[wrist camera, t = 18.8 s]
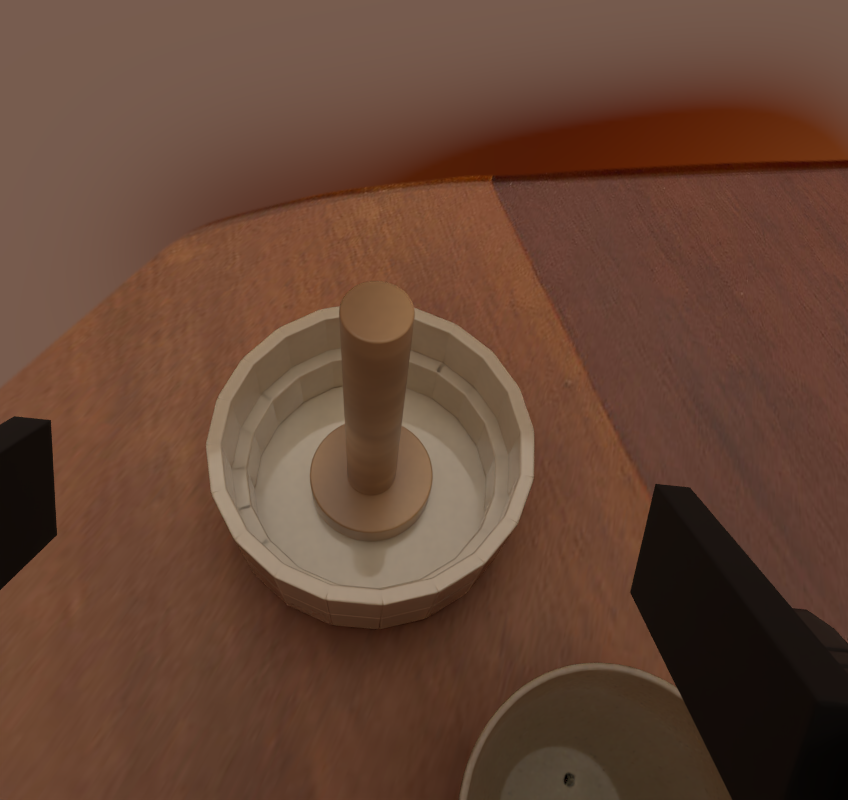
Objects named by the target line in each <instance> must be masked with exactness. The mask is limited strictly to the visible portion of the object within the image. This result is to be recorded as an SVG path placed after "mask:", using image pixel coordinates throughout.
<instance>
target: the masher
mask: <svg viewBox="0 0 848 800" xmlns="http://www.w3.org/2000/svg"><path fill="white" fill-rule="evenodd" d="M414 318H415V310H414V306H413V303H412V301H411V299H410V298H409V296H408V295H407V294H406V293H405V292H404V291H403V290H402V289H401V288H399V287H397V286H396V285H393V284H391V283H388V282H383V281H370V282H365V283H362V284H359V285H357V286H355V287H354V288H352V289H351V290H350V291H349V292H348V293H347V294H346V295H345V296H344V298H343V299H342V301H341V304H340V308H339V320H340V339H341V358H342V378H343V397H344V417H345V424H344V425H341V426H340V427H338V428H336V429H335V430H333V431H332V432H331V433H330V434H328V435H327V437H326V438H325V439H324V440H323V441H322V442H321V444H320V445H319V446H318V448H317V450H316V452H315V454H314V456H313V459H312V463H311V467H310V485H311V490H312V495H313V500H314V503H315V506H316V508H317V510H318V512H319V514H320V515H321V517H322V518H323V519H324V521H325V522H326V523H327V524H328V525H329V526H330V527H332V528H333V529H334V530H335V531H337V532H339V533H340V534H342V535H344V536H346V537H349V538H352V539H355V540H360V541H372V542H373V541H382V540H386V539H390V538H392V537H395V536H397V535H399V534H401V533H403V532H404V531H406V530H407V529H409V528H410V527H411V526H412V525H413V524H414V523H415V522H416V521H417V520H418V519H419V517H420V516H421V514H422V513H423V511H424V509H425V507H426V505H427V502H428V498H429V495H430V491H431V487H432V480H433V472H432V464H431V461H430V457H429V455H428V453H427V450H426V449H425V447H424V445H423V444H422V443H421V441H420V440H419V439H418V438H417V437H416V436H415V435H414V434H413V433H412V432H411V431H409V430H408V429H407V428H405V427H403V426H402V418H403V410H404V401H405V393H406V385H407V376H408V368H409V360H410V351H411V343H412V335H413V326H414Z"/></svg>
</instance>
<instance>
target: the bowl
mask: <svg viewBox="0 0 848 800" xmlns="http://www.w3.org/2000/svg"><path fill="white" fill-rule="evenodd" d="M339 308H340V306H339V307H333V308H326V309H322V310H318V311H316V312H314V313H311V314H309V315H307V316H305V317H302V318H300V319H298V320H296V321H293V322H291V323H289V324H287V325H284V326H282V327H280V328H279V329H277V330H276V331H274V332H273V333H272V334H271V335H270V336H268V337H267V338H266V339H265V340H264V341H263V342H261V343H260V344H259V345H258V346H257V347H255V348H254V349H253V350H252V351H251V352H249V353H248V354H247V355H246V356H245V357H244V358H243V359H242V360H241V361H240V363H239V365H238V366H237V368H236V369H235V371H234V372H233V374H232V376H231V377H230V379H229V380H228V382H227V383H226V385H225V387H224V388H223V390H222V391H221V393H220V394H219V396H218V399H217V400H216V404H215V408H214V412H213V417H212V421H211V425H210V429H209V433H208V437H207V442H206V454H207V463H208V472H209V481H210V489H211V494H212V497H213V499H214V501H215V503H216V505H217V507H218V509H219V511H220V513H221V515H222V517H223V519H224V521H225V523H226V525H227V527H228V529H229V531H230V533H231V535H232V537H233V539H234V541H235V542H236V544H237V546H238V547H239V549H240V551H241V552H242V554H243V556H244V558H245V559H246V561H247V563H248V564H249V566H250V568H251V569H252V571H253V572H254V574H255V575H256V576H257V577H258V578H259V579H260V580H261V581H262V582H263V583H264V584H265V585H266V586H268V587H269V588H270V589H271V590H272V591H273V592H274V593H275V594H276V595H277V596H278V597H279V598H280V599H281V600H282V601H283V602H284V603H285V604H286V605H288V606H290V607H292V608H294V609H297V610H299V611H301V612H303V613H305V614H308V615H310V616H312V617H314V618H317V619H319V620H321V621H323V622H326V623H328V624H330V625H331V624H332V625H337V626H348V627H359V628H369V629H379V628H380V629H384V628H388V627H392V626H396V625H401V624H405V623H409V622H413V621H417V620H422V619H425V618H426V617H427V618H428V617H430V616H431V615H433V614H434V613H436V612H438V611H439V610H441V609H442V608H444V607H446V606H447V605H449V604H450V603H452V602H454V601H455V600H457V599H458V598H460V597H462V596H463V595H465V594H466V593H467V592H468V591H469V590H470V589H471V587H472V586H473V585H474V584H475V582H476V581H477V580H478V579H479V577H480V576H481V575H482V574H483V573H484V571H485V570H486V569H487V568H488V566H489V565H490V564H491V563H492V562H493V560H494V559H495V557H496V556H497V554H498V553H499V551H500V550H501V548H502V547H503V545H504V544H505V542H506V541H507V539H508V538H509V536H510V535H511V533H512V532H513V530H514V529H515V528H516V526H517V524H518V522H519V519H520V517H521V514H522V511H523V508H524V506H525V503H526V500H527V497H528V494H529V492H530V489H531V486H532V483H533V480H534V479H533V478H534V429H533V426H532V423H531V420H530V417H529V414H528V411H527V408H526V405H525V402H524V399H523V396H522V393H521V390H520V388H519V387H518V385H517V384H516V382H515V381H514V380H513V378H512V377H511V376H510V374H509V373H508V372H507V370H506V369H505V368H504V366H503V365H502V364H501V362H500V361H499V360H498V358H497V357H496V355H495V354H494V353H493V352H492V351H491V350H490V349H489V348H487V347H486V346H485V345H483V344H482V343H481V342H479V341H478V340H477V339H475V338H474V337H473V336H471V335H470V334H469V333H467V332H466V331H465V330H463V329H462V328H461V327H459V326H458V325H455V323H452V322H450V321H447V320H444V319H442V318H439V317H437V316H434V315H432V314H429V313H426V312H424V311H421V310H419V309H416V308H414V310H415V318H414V326H413V335H412V343H411V351H410V360H409V368H408V376H407V385H406V393H405V401H404V410H403V418H402V426H403V427H405V428H407V429H408V430H409V431H411V432H412V433H413V434H414V435H415V436H416V437H417V438H418V439H419V440H420V441H421V443H422V444H423V445H424V447H425V449H426V450H427V453H428V455H429V457H430V461H431V464H432V472H433V480H432V487H431V491H430V495H429V498H428V502H427V505H426V507H425V509H424V511H423V513H422V514H421V516H420V517H419V519H418V520H417V521H416V522H415V523H414V524H413V525H412V526H411V527H410V528H409V529H407V530H406V531H404V532H403V533H401V534H399V535H397V536H395V537H392V538H390V539H386V540H382V541H373V542H372V541H360V540H355V539H352V538H349V537H346V536H344V535H342V534H340V533H339V532H337V531H335V530H334V529H333V528H332V527H330V526H329V525H328V524H327V523H326V522H325V521H324V519H323V518H322V517H321V515H320V514H319V512H318V510H317V508H316V506H315V503H314V500H313V495H312V490H311V485H310V467H311V463H312V459H313V456H314V454H315V452H316V450H317V448H318V446H319V445H320V444H321V442H322V441H323V440H324V439H325V438H326V437H327V435H328V434H330V433H331V432H332V431H333V430H335V429H336V428H338V427H340V426H341V425H344V424H345V417H344V397H343V378H342V358H341V339H340V320H339Z"/></svg>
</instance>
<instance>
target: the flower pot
mask: <svg viewBox="0 0 848 800" xmlns="http://www.w3.org/2000/svg"><path fill="white" fill-rule="evenodd" d="M565 775H567V777H568V780H567V782H566V783H564V778H565ZM459 800H732V798H731V796H730V794H729V792H728V790H727V788H726V786H725V784H724V782H723V780H722V778H721V776H720V774H719V772H718V770H717V768H716V766H715V764H714V762H713V760H712V758H711V756H710V754H709V752H708V750H707V748H706V746H705V744H704V741H703V739H702V737H701V735H700V733H699V731H698V729H697V727H696V725H695V723H694V721H693V719H692V717H691V715H690V713H689V711H688V709H687V707H686V705H685V703H684V701H683V699H682V697H681V695H680V693H679V691H678V689H677V687H675V686H674V685H672V684H670V683H669V682H667V681H665V680H663V679H661V678H659V677H657V676H655V675H652V674H650V673H648V672H645V671H642V670H639V669H636V668H633V667H629V666H624V665H618V664H611V663H582V664H575V665H570V666H566V667H562V668H559V669H556V670H553V671H550V672H548V673H545V674H543V675H541V676H539V677H537V678H535V679H534V680H532V681H530V682H529V683H527V684H525V685H524V686H522V687H521V688H520V689H518V690H517V691H516V692H515V693H514V694H513V695H512V696H510V697H509V698H508V699H507V700H506V701H505V702H504V703H503V704H502V705H501V707H500V708H499V709H498V710H497V711H496V712H495V714H494V715H493V716H492V717H491V719H490V720H489V722H488V723H487V724H486V726H485V727H484V729H483V731H482V732H481V734H480V736H479V738H478V739H477V741H476V743H475V746H474V748H473V750H472V752H471V754H470V757H469V760H468V762H467V765H466V768H465V772H464V775H463V779H462V783H461V788H460V794H459Z"/></svg>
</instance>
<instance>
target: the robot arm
mask: <svg viewBox="0 0 848 800" xmlns="http://www.w3.org/2000/svg"><path fill="white" fill-rule="evenodd" d="M56 535H57V528H56V509H55V491H54V472H53V453H52V435H51V420H43V419H34V418H24V417H15V416H14V417H13V418H11V419H9V420H7V421H6V422H4V423H2V424H1V425H0V590H1V589H2V588H3V587H4V586H5V585H6V584H7V583H8V582H9V581H10V580H11V579H12V578H13V577H14V576H15V575H16V574H17V573H18V572H19V571H20V570H21V569H22V568H23V567H24V566H25V565H26V564H28V563H29V562H30V561H31V560H32V559H33V558H34V557H35V556H36V555H37V554H38V553H39V552H40V551H41V550H42V549H43V548H44V547H45V546H46V545H47V544H48V543H49V542H50V541H51V540H52V539H53V538H54V537H55V536H56ZM630 593H631V595H632V597H633V599H634V601H635V603H636V605H637V607H638V609H639V611H640V613H641V615H642V617H643V619H644V621H645V623H646V625H647V628H648V630H649V632H650V634H651V636H652V638H653V640H654V642H655V644H656V646H657V648H658V650H659V652H660V654H661V656H662V658H663V660H664V662H665V664H666V666H667V668H668V670H669V672H670V674H671V676H672V678H673V680H674V682H675V685H676V687H677V689H678V691H679V693H680V695H681V697H682V699H683V701H684V703H685V705H686V707H687V709H688V711H689V713H690V715H691V717H692V719H693V721H694V723H695V725H696V727H697V729H698V731H699V733H700V735H701V737H702V739H703V741H704V744H705V746H706V748H707V750H708V752H709V754H710V756H711V758H712V760H713V762H714V764H715V766H716V768H717V770H718V772H719V774H720V776H721V778H722V780H723V782H724V784H725V786H726V788H727V790H728V792H729V794H730V796H731V798H732V800H848V643H847V642H846V641H845V640H844V639H843V638H842V637H841V636H840V635H839V633H838V632H837V631H836V630H835V629H834V628H832V627H831V626H829V625H828V624H827V623H825V622H824V621H822V620H821V619H819V618H818V617H816V616H815V615H814V614H812V613H811V612H809V611H808V610H804V609H794V608H792V607H791V606H790V605H789V604H788V603H787V601H786V600H785V599H784V598H783V597H782V595H781V594H780V593H779V592H778V591H777V590H776V588H775V587H774V586H773V585H772V584H771V583H770V581H769V580H768V579H767V578H766V577H765V575H764V574H763V573H762V572H761V571H760V570H759V568H758V567H757V566H756V565H755V564H754V563H753V561H752V560H751V559H750V558H749V557H748V555H747V554H746V553H745V552H744V551H743V550H742V548H741V547H740V546H739V545H738V544H737V542H736V541H735V540H734V539H733V538H732V537H731V535H730V534H729V533H728V532H727V531H726V530H725V528H724V527H723V526H722V525H721V524H720V522H719V521H718V520H717V519H716V518H715V517H714V515H713V514H712V513H711V512H710V511H709V510H708V508H707V507H706V506H705V505H704V504H703V502H702V501H701V500H700V499H699V498H698V497H697V495H696V494H695V493H694V492H693V491H692V489H691V488H689V487H679V486H670V485H660V484H656V485H655V489H654V493H653V497H652V502H651V506H650V510H649V514H648V519H647V523H646V527H645V532H644V536H643V540H642V544H641V549H640V553H639V557H638V562H637V566H636V570H635V574H634V579H633V583H632V587H631V592H630Z"/></svg>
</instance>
